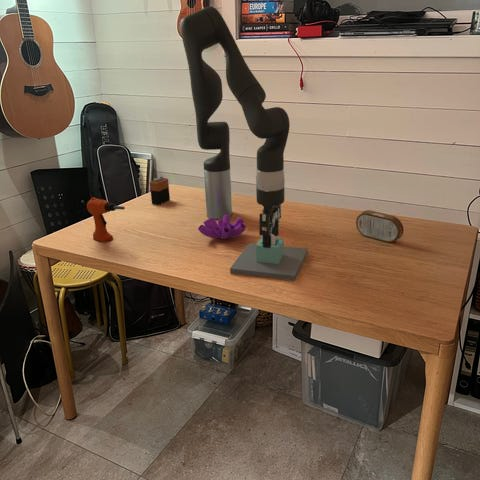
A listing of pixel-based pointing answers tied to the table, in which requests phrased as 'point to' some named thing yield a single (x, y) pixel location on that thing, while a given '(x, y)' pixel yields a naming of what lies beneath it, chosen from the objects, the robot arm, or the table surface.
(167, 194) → the battery
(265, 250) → the collar
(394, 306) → the table surface
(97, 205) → the toy drill
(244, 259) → the post plate
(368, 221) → the tin
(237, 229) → the purple coral
